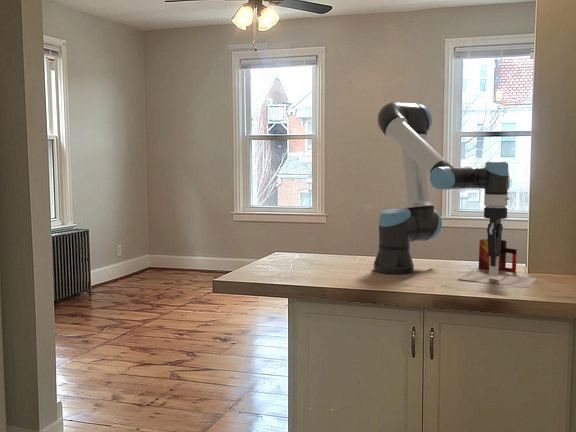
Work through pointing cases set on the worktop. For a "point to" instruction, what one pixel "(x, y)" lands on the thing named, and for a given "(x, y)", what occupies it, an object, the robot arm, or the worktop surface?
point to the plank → (481, 277)
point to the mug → (502, 259)
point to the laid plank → (516, 281)
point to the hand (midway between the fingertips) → (493, 275)
